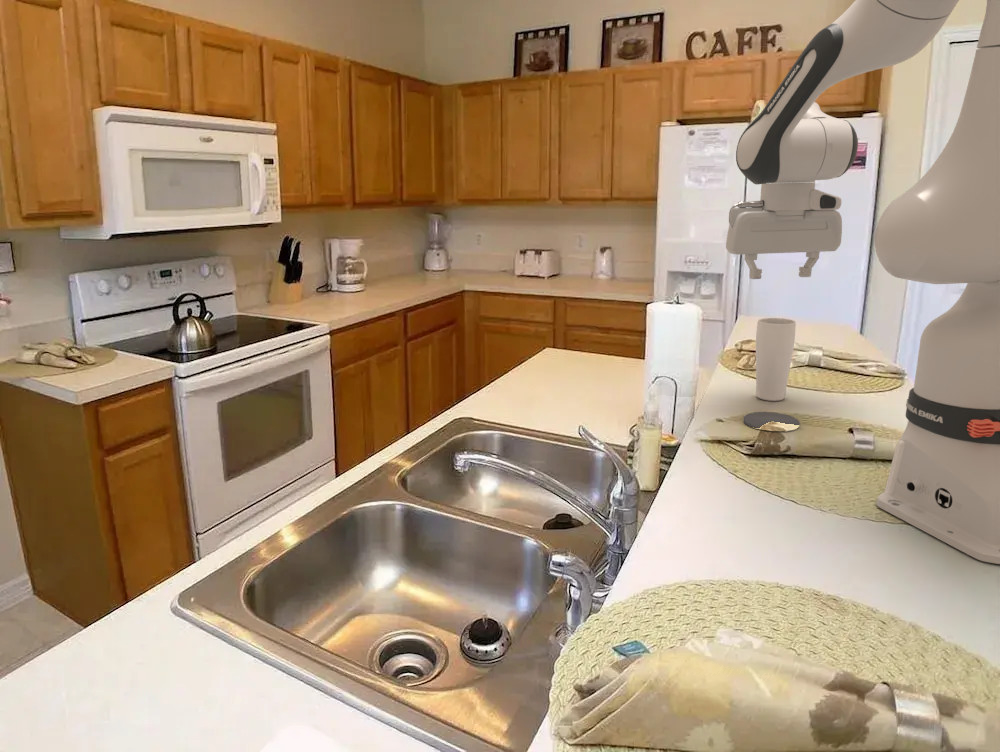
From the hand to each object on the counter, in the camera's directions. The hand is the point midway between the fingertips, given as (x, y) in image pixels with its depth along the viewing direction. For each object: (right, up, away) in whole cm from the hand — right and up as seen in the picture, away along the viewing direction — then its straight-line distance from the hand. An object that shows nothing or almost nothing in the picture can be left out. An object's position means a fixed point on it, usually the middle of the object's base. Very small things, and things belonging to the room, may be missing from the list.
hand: (779, 277), depth 126 cm
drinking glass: (+1, -22, +6) cm, 23 cm away
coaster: (-5, -26, -8) cm, 28 cm away
